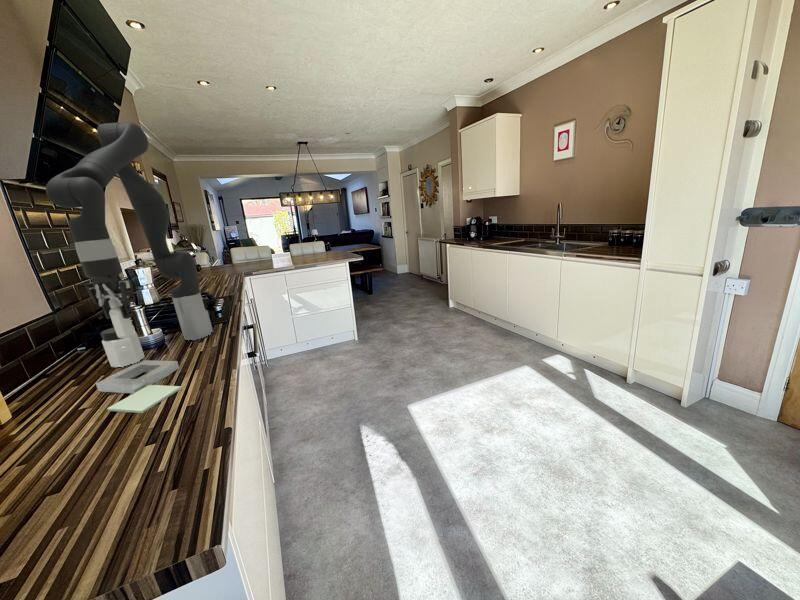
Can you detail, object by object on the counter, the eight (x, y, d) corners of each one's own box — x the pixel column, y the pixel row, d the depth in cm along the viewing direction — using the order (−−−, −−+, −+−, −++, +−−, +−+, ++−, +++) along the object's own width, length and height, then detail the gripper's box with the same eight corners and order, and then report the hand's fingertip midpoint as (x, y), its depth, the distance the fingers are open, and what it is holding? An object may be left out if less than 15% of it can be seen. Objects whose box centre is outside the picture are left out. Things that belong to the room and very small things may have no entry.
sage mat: (149, 386, 90) (149, 384, 90) (181, 388, 87) (181, 386, 87) (107, 410, 79) (106, 408, 79) (142, 413, 77) (141, 411, 77)
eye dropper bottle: (114, 341, 88) (99, 299, 84) (118, 335, 92) (104, 295, 89) (134, 336, 90) (120, 295, 87) (137, 331, 95) (124, 292, 91)
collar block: (145, 367, 103) (143, 360, 102) (180, 368, 100) (178, 361, 99) (97, 391, 90) (94, 383, 89) (136, 393, 87) (133, 385, 86)
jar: (112, 371, 103) (99, 336, 99) (110, 363, 108) (98, 330, 105) (146, 360, 108) (135, 327, 105) (143, 354, 114) (132, 322, 111)
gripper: (134, 254, 87) (153, 313, 91) (94, 256, 90) (114, 313, 95) (104, 258, 80) (126, 322, 84) (62, 261, 83) (86, 322, 88)
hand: (120, 317), depth 90 cm, fingers closed on eye dropper bottle, 5 cm apart
